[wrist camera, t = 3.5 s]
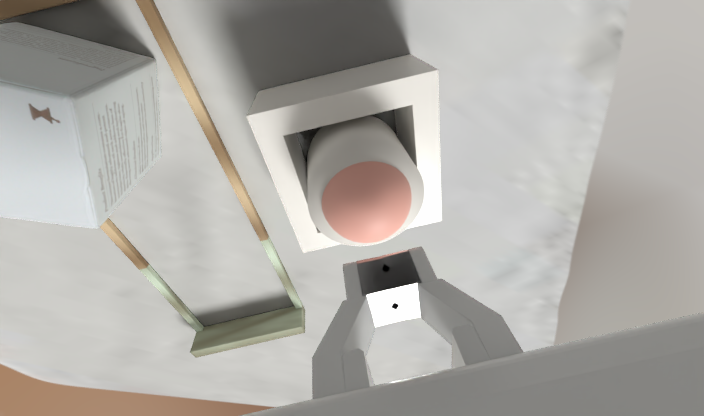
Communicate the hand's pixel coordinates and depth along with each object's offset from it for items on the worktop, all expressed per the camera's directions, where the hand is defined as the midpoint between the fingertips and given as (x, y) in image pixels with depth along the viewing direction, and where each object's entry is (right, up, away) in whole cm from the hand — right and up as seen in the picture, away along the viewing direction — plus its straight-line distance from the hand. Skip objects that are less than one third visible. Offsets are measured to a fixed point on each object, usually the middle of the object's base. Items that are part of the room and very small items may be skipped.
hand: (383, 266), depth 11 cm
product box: (-15, +8, +6) cm, 18 cm away
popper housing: (-1, +6, +9) cm, 11 cm away
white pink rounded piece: (-1, +5, +7) cm, 8 cm away
